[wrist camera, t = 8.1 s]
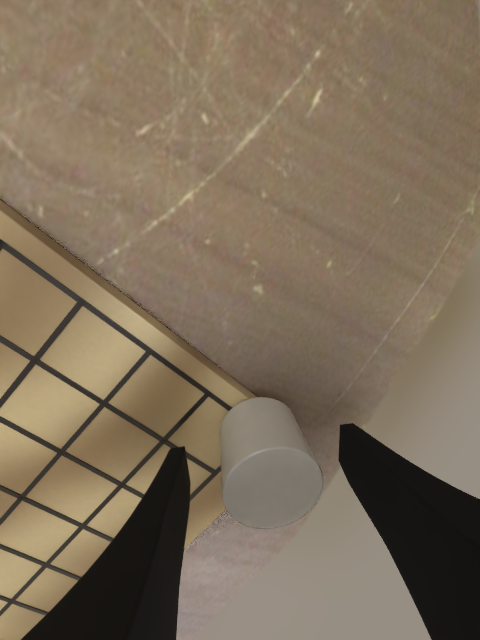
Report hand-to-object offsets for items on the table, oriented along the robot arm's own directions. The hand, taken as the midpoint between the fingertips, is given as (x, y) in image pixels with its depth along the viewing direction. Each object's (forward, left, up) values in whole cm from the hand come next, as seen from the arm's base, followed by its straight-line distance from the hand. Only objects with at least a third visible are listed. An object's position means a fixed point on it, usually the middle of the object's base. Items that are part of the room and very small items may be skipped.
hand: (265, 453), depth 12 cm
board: (+7, +11, -3) cm, 13 cm away
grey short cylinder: (0, 0, -2) cm, 2 cm away
